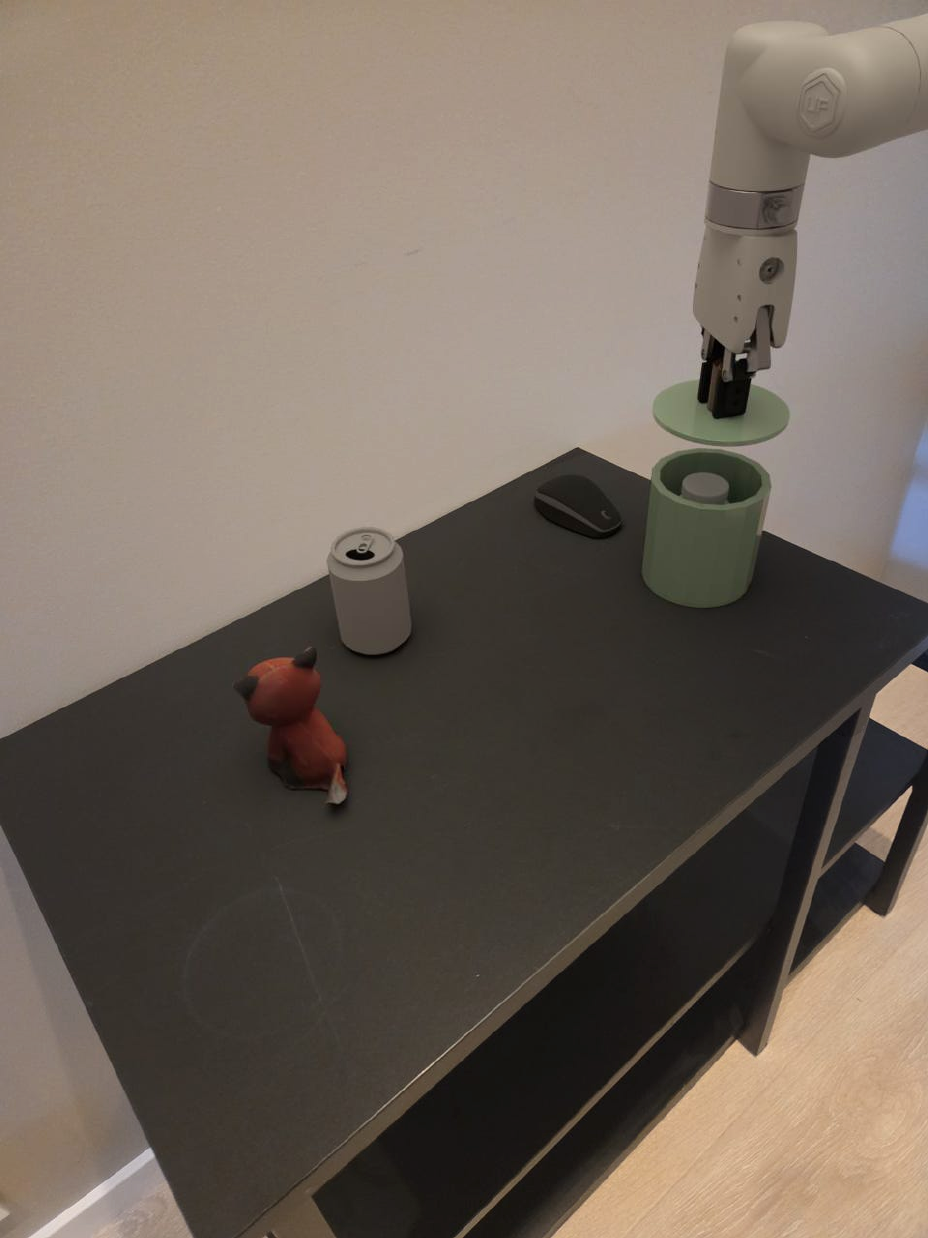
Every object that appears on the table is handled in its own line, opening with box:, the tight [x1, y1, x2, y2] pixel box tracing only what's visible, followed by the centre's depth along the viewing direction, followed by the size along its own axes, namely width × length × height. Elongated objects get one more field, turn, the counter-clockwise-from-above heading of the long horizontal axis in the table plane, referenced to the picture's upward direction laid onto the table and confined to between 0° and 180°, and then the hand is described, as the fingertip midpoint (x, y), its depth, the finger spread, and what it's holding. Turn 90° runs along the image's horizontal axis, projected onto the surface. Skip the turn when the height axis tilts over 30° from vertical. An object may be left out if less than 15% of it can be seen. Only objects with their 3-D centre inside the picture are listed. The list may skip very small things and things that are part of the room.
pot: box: [641, 447, 773, 609], centre depth 93 cm, size 12×12×12 cm
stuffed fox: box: [231, 645, 349, 805], centre depth 74 cm, size 8×11×12 cm
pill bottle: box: [679, 472, 730, 505], centre depth 93 cm, size 6×6×11 cm
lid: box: [651, 358, 791, 448], centre depth 83 cm, size 13×13×6 cm
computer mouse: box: [533, 473, 623, 539], centre depth 105 cm, size 7×12×4 cm, turn 41°
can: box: [326, 526, 412, 656], centre depth 87 cm, size 8×8×12 cm
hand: (720, 406), depth 83 cm, fingers closed on lid, 2 cm apart
